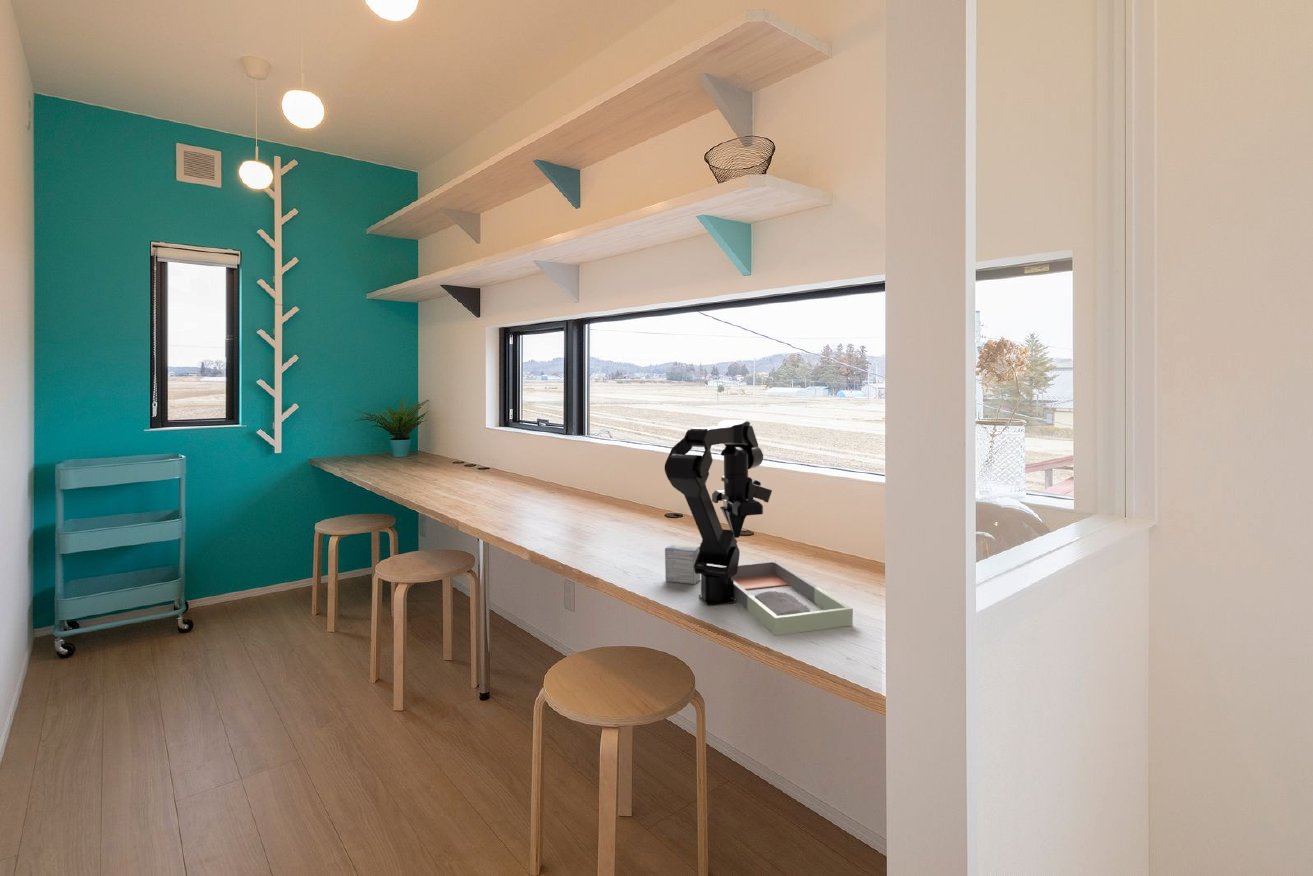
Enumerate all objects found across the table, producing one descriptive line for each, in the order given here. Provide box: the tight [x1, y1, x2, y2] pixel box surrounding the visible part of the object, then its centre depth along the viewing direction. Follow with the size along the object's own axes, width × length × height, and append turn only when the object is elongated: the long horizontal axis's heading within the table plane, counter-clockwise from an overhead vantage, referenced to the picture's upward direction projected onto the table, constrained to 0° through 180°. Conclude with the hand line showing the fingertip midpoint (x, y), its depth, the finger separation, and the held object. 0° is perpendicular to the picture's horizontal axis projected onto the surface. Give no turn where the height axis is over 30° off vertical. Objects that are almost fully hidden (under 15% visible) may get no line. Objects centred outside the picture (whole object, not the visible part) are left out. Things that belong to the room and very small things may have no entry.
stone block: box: [754, 590, 811, 616], centre depth 139 cm, size 12×5×10 cm
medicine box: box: [664, 543, 701, 585], centre depth 164 cm, size 8×4×9 cm, turn 68°
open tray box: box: [717, 560, 854, 636], centre depth 148 cm, size 17×36×4 cm, turn 15°
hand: (736, 537), depth 158 cm, fingers closed
